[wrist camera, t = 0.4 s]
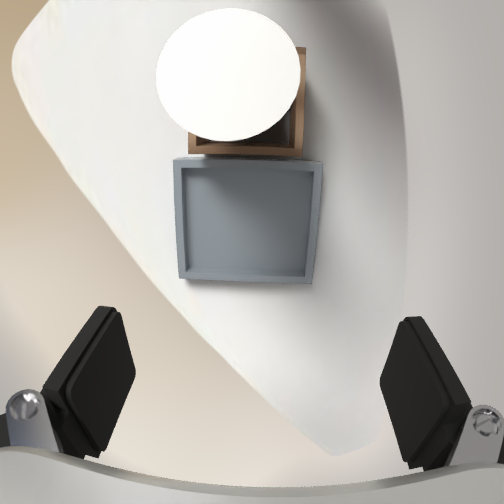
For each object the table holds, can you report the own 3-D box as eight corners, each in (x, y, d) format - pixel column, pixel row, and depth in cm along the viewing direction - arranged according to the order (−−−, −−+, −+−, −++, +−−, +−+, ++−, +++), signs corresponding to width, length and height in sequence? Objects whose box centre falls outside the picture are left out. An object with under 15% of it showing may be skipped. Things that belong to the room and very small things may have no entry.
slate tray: (178, 157, 40) (173, 159, 37) (319, 161, 39) (322, 163, 37) (183, 270, 46) (178, 278, 44) (309, 275, 45) (311, 283, 43)
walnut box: (204, 60, 35) (190, 46, 27) (298, 61, 35) (305, 47, 27) (202, 148, 39) (188, 153, 32) (294, 150, 39) (302, 156, 32)
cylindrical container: (288, 117, 37) (324, 107, 14) (235, 140, 39) (191, 165, 16) (264, 67, 35) (263, -11, 12) (211, 90, 36) (135, 48, 13)
